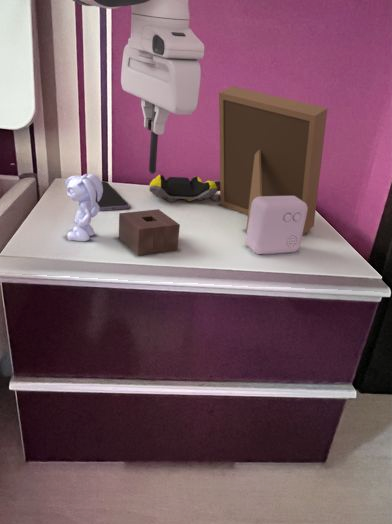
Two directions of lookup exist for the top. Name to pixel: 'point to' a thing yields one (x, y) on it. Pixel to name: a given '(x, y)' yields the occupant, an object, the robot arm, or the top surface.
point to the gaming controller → (182, 188)
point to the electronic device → (276, 224)
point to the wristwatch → (217, 197)
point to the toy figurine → (84, 203)
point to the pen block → (148, 232)
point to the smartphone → (110, 199)
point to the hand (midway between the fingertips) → (153, 131)
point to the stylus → (153, 146)
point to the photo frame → (269, 149)
